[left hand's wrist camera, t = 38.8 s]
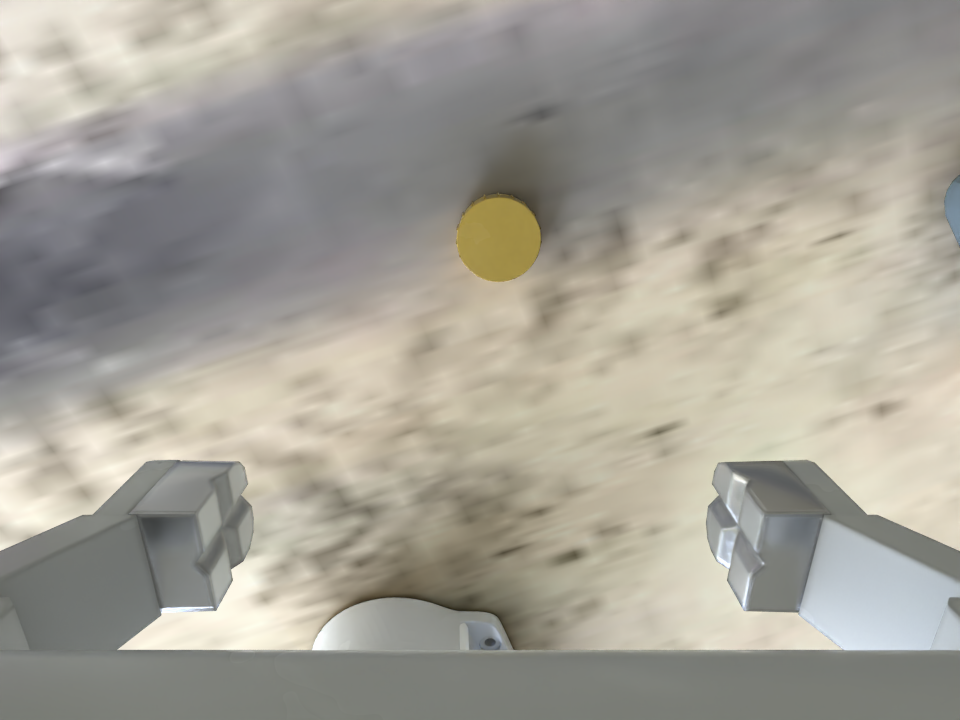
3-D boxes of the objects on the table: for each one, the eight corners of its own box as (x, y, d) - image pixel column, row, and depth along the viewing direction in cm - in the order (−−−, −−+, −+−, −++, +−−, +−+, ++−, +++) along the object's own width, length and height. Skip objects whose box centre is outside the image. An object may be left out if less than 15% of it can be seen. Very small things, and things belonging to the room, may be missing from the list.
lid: (490, 174, 35) (491, 177, 33) (555, 226, 36) (560, 232, 34) (440, 242, 36) (438, 248, 34) (504, 290, 37) (506, 299, 35)
